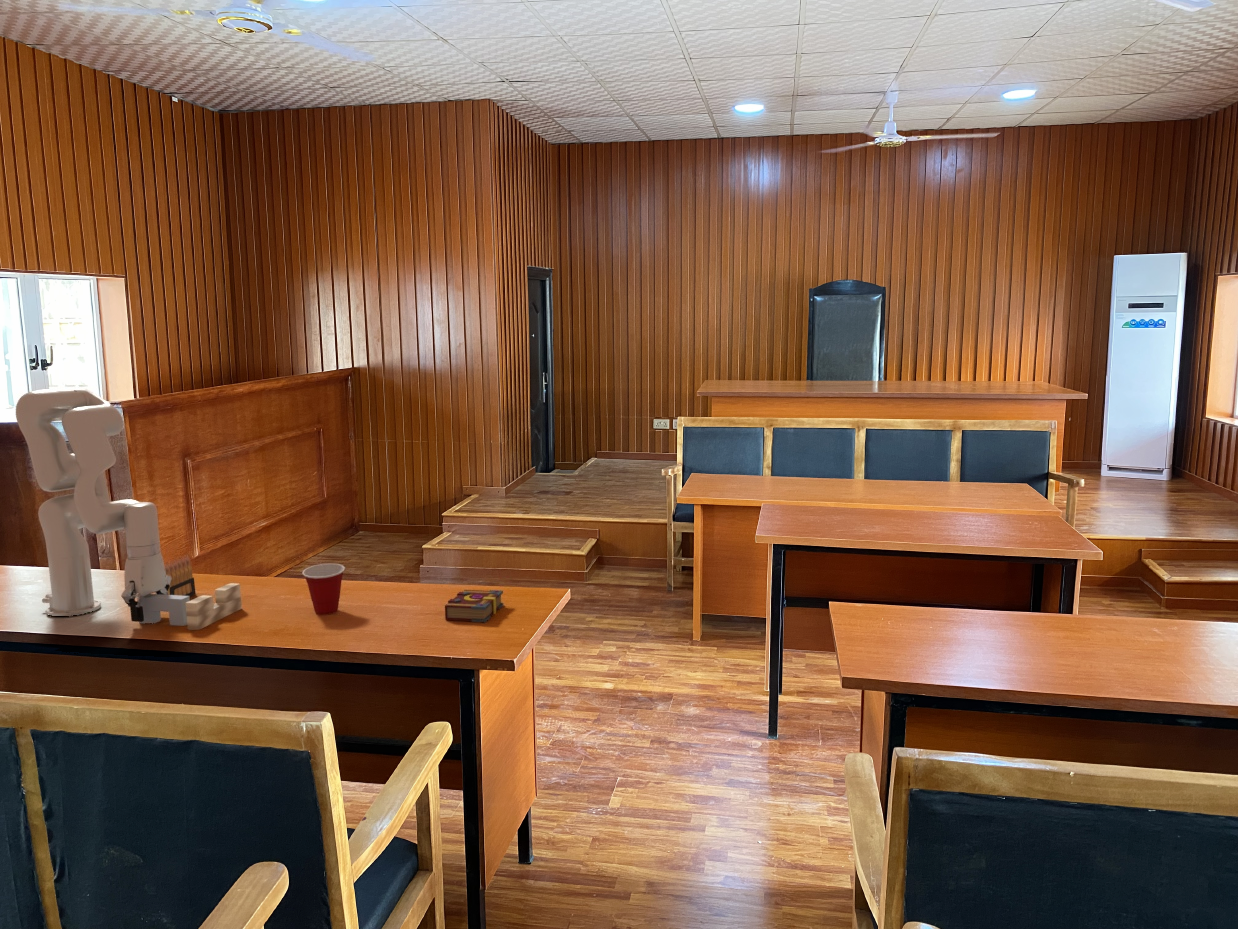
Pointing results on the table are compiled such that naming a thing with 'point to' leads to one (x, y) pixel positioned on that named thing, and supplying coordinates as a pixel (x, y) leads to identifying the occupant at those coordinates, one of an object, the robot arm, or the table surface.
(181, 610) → the grey block
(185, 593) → the ammunition clip
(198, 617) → the birch block
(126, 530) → the robot arm
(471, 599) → the decorative book
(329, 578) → the plastic cup
